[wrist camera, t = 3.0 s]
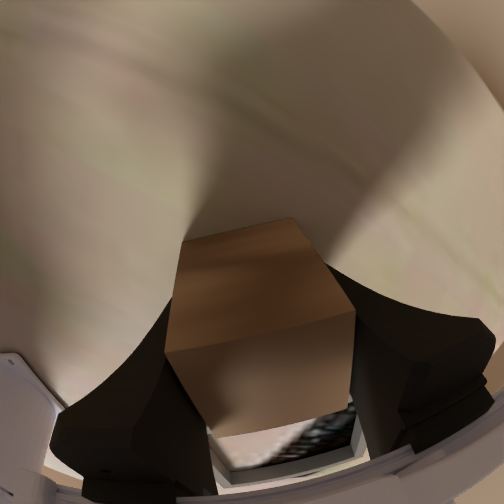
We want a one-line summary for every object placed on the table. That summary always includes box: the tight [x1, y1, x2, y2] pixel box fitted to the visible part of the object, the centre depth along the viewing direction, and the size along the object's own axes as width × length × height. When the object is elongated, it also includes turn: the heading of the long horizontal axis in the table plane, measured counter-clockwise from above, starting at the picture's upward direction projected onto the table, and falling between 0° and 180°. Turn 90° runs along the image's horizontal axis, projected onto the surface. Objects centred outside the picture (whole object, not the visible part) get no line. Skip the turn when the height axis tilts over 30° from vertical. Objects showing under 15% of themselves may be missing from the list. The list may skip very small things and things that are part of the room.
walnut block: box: [164, 218, 356, 438], centre depth 10 cm, size 4×4×6 cm
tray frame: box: [206, 392, 367, 488], centre depth 19 cm, size 14×14×2 cm
